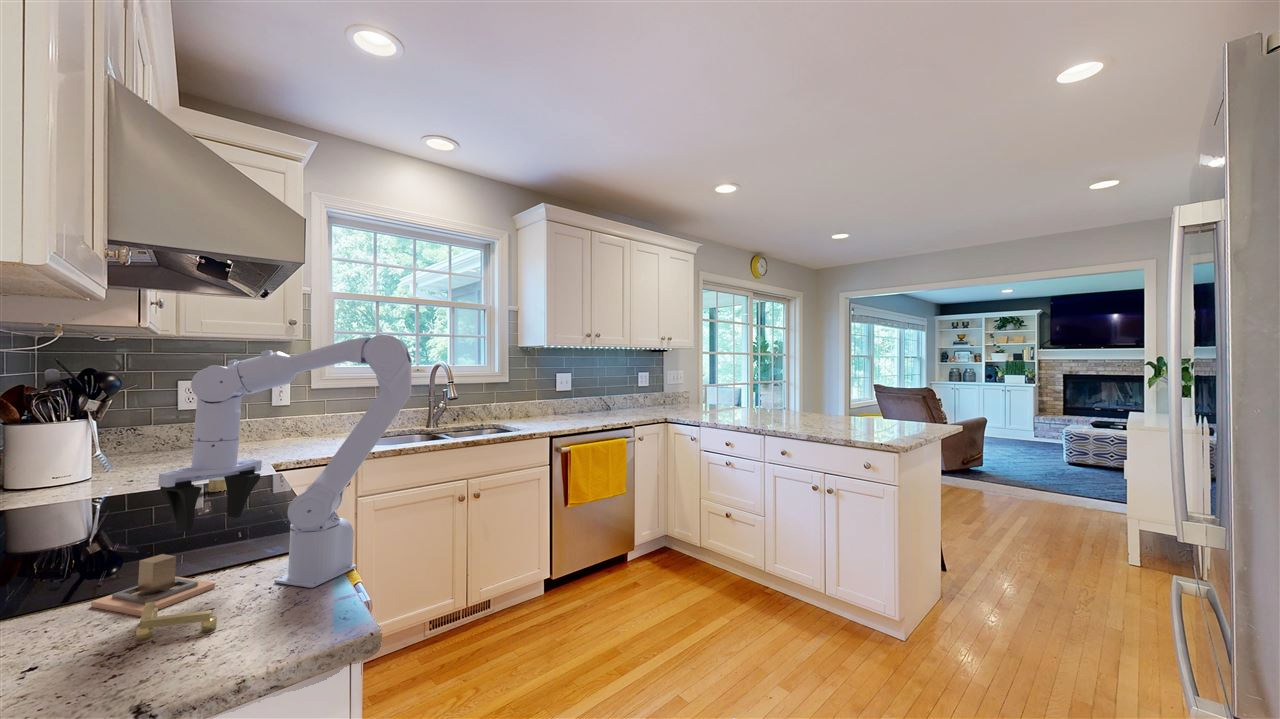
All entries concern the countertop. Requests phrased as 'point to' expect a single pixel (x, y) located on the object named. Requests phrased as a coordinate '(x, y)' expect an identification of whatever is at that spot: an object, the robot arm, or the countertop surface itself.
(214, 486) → the sprinkles bottle
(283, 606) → the countertop surface
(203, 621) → the brass bent rod
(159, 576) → the grey window frame
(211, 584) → the tile
